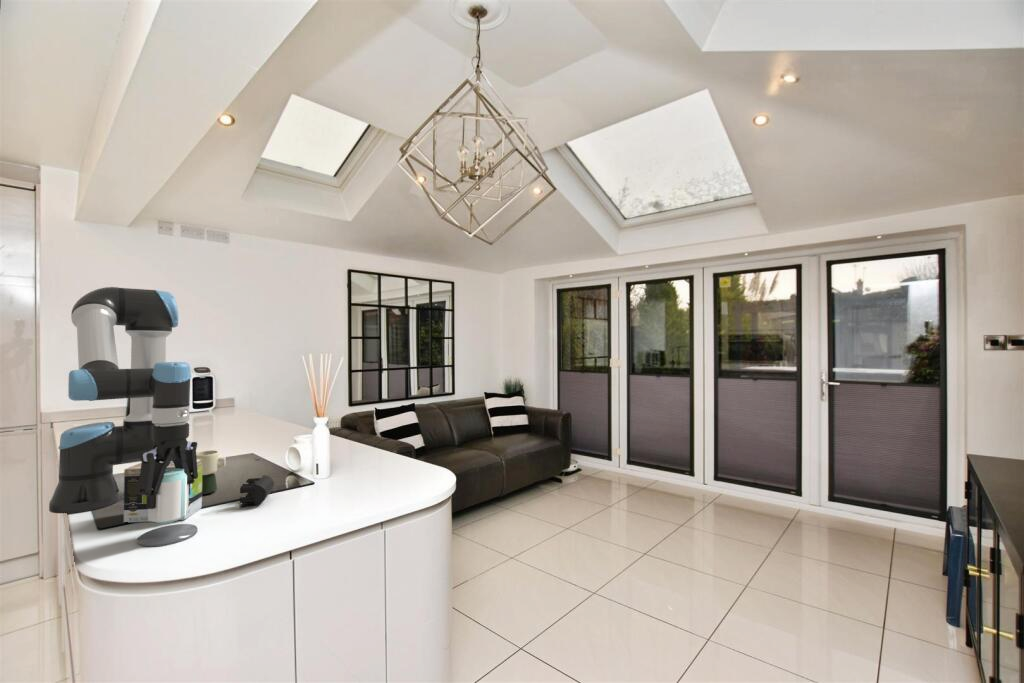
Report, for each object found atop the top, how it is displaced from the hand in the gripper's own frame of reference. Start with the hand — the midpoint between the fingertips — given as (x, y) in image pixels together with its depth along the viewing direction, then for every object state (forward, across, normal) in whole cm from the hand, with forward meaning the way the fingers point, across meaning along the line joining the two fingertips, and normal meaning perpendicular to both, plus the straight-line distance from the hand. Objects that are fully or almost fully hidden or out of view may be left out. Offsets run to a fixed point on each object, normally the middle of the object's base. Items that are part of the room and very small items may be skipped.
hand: (168, 514), depth 113 cm
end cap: (+6, +26, -4) cm, 27 cm away
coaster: (+5, 0, 0) cm, 5 cm away
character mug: (+5, +29, +17) cm, 34 cm away
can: (+1, 0, 0) cm, 1 cm away
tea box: (+6, +11, +13) cm, 18 cm away
